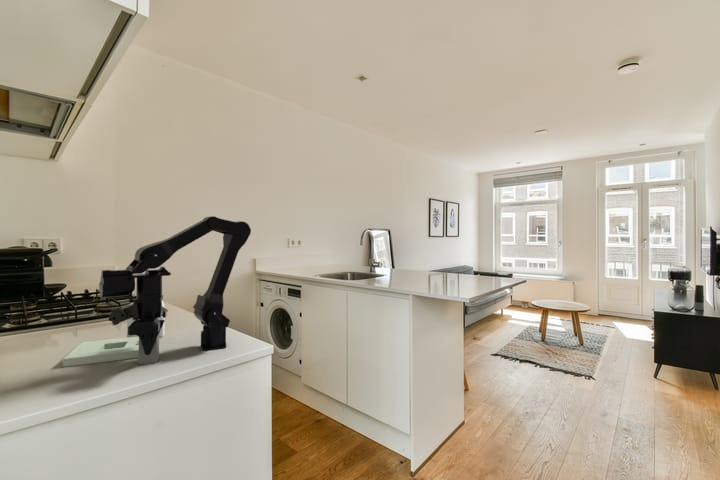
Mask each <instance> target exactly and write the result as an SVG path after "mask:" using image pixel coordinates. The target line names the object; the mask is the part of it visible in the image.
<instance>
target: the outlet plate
mask: <svg viewBox="0 0 720 480" xmlns="http://www.w3.org/2000/svg"><path fill="white" fill-rule="evenodd" d="M129 359H131V360H132V359H139V337H129V338H127V337H120V338H112V339H109V338H108V339H101V340H100V339H99V340H90V341H83V342H81V343H80V344H79V345H77V346H76V347H75V348H74V349H73V350H72V351H71V352H70V353H68V354H67V355H66V356H65V357H64V358H63V359H62V367H63V368H65V367H73V366H81V365H90V364H98V363H107V362H113V361H121V360H129Z"/></svg>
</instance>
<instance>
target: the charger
mask: <svg viewBox="0 0 720 480" xmlns="http://www.w3.org/2000/svg"><path fill="white" fill-rule="evenodd" d="M159 358H160V337H159V334H158V336H157V339H156V341H155V344H154V346H153V349H152V351H151V353H150V354H149V355H145V352H144V349H143V346H142V343H141V340H140V337H139V358H138V366H142V365H150V364H157V363H158V362H159Z"/></svg>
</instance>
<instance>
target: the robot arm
mask: <svg viewBox="0 0 720 480" xmlns="http://www.w3.org/2000/svg"><path fill="white" fill-rule="evenodd" d="M213 231H214V232H216V233H219V234H223V237H222V241H223V242H222V243H223V244H222V245H223V247H222V250H221V253H220V256H219V258H218V261H217V264H216V266H215V269H214V272H213V274H212V277H211V280H210V282H209V285H208V288H207V290H206V291H205V292H204V294H202V295H201V294H197V297H196V300H195V301H196V302H194V303H195V304H194V305H193V306H192V308H193V309H194V310H193V313H194V314H193V315H194V316H195V318H196V319H197V320H198V321H200V323H201V325H202V330H201V331H200V347H201V348H202V351H207V350H209V351H210V350H217V349H224V348H227V328H228V327H229V325H230V322H231V320H230V319H229V318H228V317H227V316H225V315H224V314H223V311H224V305H225V304H224V293H225V290H226V287H227V286H228V281H229V279H230V275H231V273H232V270H233V267H234V265H235V262H236V259H237V256H238V253H239V251H240V250H241V249H242V247H244V245H245V244H246V243H247V241H248V239H249V237H250V235H251V232H252V229H251V227H250V224H248V223H247V222H246V221H232V220H228V219H224V218H220V217H217V216H211V215H210V216H206V217H204V218H203V219H202V220H200V221H198V222H196V223H194V224H192V225H190V226H189V227H186V228H185V229H183V230H181V231H179V232H177V233H175V234H174V235H172V236H170V237H168V238H166V239H163V240H160V241H155V242H151V243H150V244H147V245H144V246H142V247H141V246H140V247H139V248H138V249H137V250H136V251H135V254H134V258H133V260H132V261H131V262H130V263H129V265H128V266H126V268H125V269H117V270H115V269H112V270H111V269H103V270H101V274H100V275H101V276H100V279H99V280H100V282H99V283H98V286H99V288H98V291H99V297H100V299H106V298H107V299H108V298H118V297H126V296H130V294H131V293H133V292H134V291H135V290H136V298H135V299H134V300H133V301H132V303H133V304H131V303H129V304H126V305H124V306H122V307H121V306H118V307H116V308H113V309H112V310H111V312H110V313H109V312H108V321H110V322H111V324H112V325H113V326H116V325H119V324H120V323H122V322H125V321H127V320H128V319H130V318H133V320H135V321H134V322H132V323H131V324H130V326H129V327H128V335H137V336H139V337H140V340H141V343H142V346H143V349H144V352H145V355H149V354H150V353H151V351H152V349H153V346H154V344H155V341H156V339H157V336H158V334H159V333H160V331H161V328H162V326H163V323H164V321H165V322H166V320H159V317H161V316H163V318H165V319H166V317H167V315H168V314H167V312H168V311H167V308H166V307H165V308H164V307H162V301H163V299H164V294H163V277H164V276H167V277H168V276H171V275H172V273H171V272H170V271H168V270H167V269H166V267H165V266H162V265H163V264H164V263H166V262H167V261H169V260H170V258H171V257H173V256H174V254H176V252H178V251H179V250H181V249H182V248H184V247H186V246H188V245H189V244H192V243H193V242H195V241H197V240H198V239H201V238H203V237H204V236H205V235H208V234H209V233H211V232H213ZM157 268H158V269H157ZM138 319H140V320H138Z"/></svg>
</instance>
